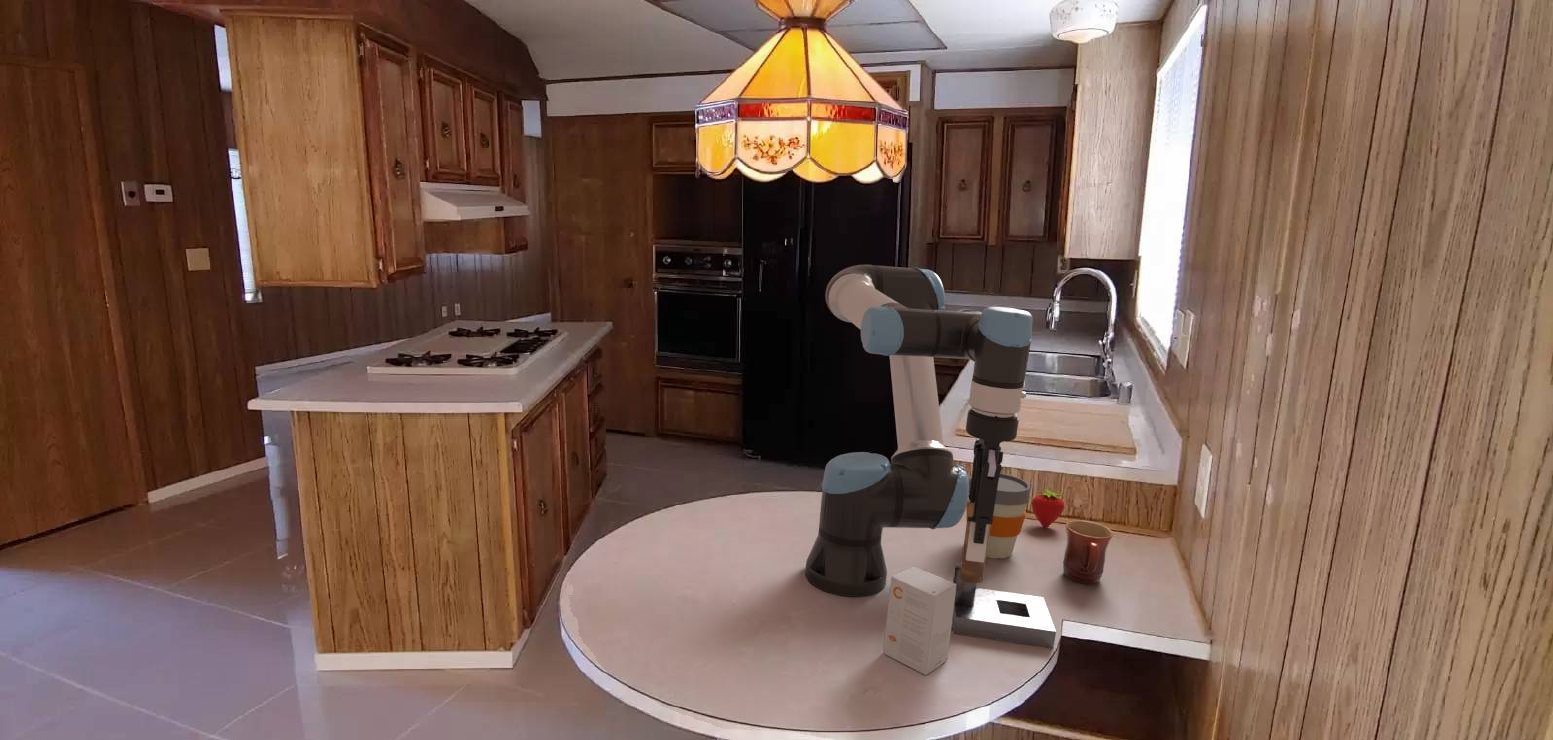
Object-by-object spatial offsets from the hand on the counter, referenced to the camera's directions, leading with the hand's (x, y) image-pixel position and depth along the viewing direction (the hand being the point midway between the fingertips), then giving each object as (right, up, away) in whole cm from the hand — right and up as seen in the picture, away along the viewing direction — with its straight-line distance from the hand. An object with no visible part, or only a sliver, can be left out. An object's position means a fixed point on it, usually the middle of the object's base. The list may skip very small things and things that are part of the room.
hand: (973, 554), depth 125 cm
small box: (-9, -16, -1) cm, 19 cm away
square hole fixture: (+7, -14, +12) cm, 20 cm away
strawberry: (+30, -7, +57) cm, 65 cm away
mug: (+29, -13, +31) cm, 44 cm away
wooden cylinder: (0, -4, +1) cm, 4 cm away
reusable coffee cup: (+14, -9, +43) cm, 46 cm away
